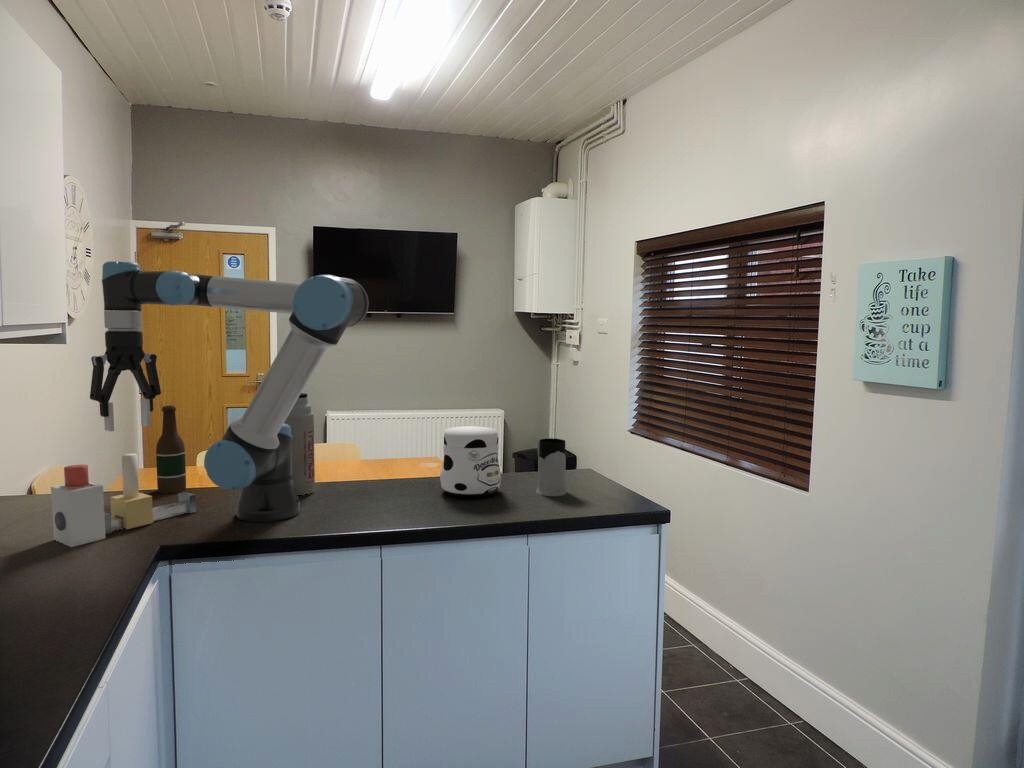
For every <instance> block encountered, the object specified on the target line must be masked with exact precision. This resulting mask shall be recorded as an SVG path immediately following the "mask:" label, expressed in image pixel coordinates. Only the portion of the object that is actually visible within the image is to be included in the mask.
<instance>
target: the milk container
mask: <svg viewBox="0 0 1024 768" xmlns="http://www.w3.org/2000/svg"><path fill="white" fill-rule="evenodd" d="M498 431H499V430H498V429H496V428H493V427H487V426H479V425H478V426H477V425H474V426H473V425H472V426H469V425H468V426H461V425H460V426H454V427H453V426H452V427H449V428H446V429H444V433H443V444H442V445H443V447H442V448H443V459H442V460H443V461H442V466H441V468H440V474H439V479H440V485H441V486H440V487H441V489H442V490H443V491H444V492H445V493H447V494H449V495H453V496H456V497H463V498H467V497H468V498H474V497H476V498H477V497H484V496H488V495H489V496H490V495H491V494H494V493H496V492H497V491H498V490H499V489H500V487H501V482H502V472H501V467H500V464H499V432H498Z"/></svg>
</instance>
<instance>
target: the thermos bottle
mask: <svg viewBox="0 0 1024 768" xmlns="http://www.w3.org/2000/svg"><path fill="white" fill-rule="evenodd" d="M314 417H315V414H314V412H312V405H311V404H310V403H309V401H308V393H303V392H301V394H300V396H299V397H298V399H297V401H296V403H295V404H294V406H293V408H292V410H291V411H290V413H289V415H288V417H287V418H286V420H285V422H284V424H288V425H289V426H290V428H291V435H292V481H293V485H294V487H295V490H296V493H297V495H302V496H306V495H305V494H308V495H311V494H310V493H312V494H314V493H315V492H316V483H315V482H316V480H315V474H316V473H315V470H316V469H315V468H316V467H315V419H314ZM313 492H314V493H313Z"/></svg>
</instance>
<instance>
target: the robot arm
mask: <svg viewBox="0 0 1024 768" xmlns="http://www.w3.org/2000/svg"><path fill="white" fill-rule="evenodd" d="M101 277H102V279H101V285H102V293H103V295H102V296H103V306H104V307H103V315H104V316H103V317H104V318H103V319H104V328H105V329H107V330H105V332H104V338H105V339H104V342H105V348H106V349H105V352H104V354H102V355H93V356H91V358H90V359H91V362H92V374H91V382H90V383H91V384H90V391H89V399H90V400H92V401H96V402H98V403H99V415H100V416H101V417H102V418H103V420H104V421H103V423H104V430H105V431H107V432H114V431H115V421H114V420H115V418H114V416H115V415H114V402H111V401H110V400H111V397H112V394H113V391H114V389H115V386H116V383H117V381H118V378H119V376H120V375H121V373H122V372H125V371H130V373H132V375H133V377H134V379H135V381H136V384H137V386H138V388H139V389H140V391H141V394H142V396H143V397H142V398H139V400H140V402H139V403H140V423H141V426H143V427H151V412H153V411H154V399H155V398H156V397H157V396H160V395H161V394H162V389H161V385H160V381H159V380H160V379H159V374H158V368H157V358H158V357H157V355H156V354H154V353H145V351H144V350H143V348H144V347H143V346H144V340H143V339H144V338H143V337H144V335H143V332H142V331H141V330H140V329H142V328H143V315H142V313H143V312H142V305H163V306H164V305H169V306H201V307H210V308H213V307H214V308H222V309H223V308H225V309H235V310H246V311H255V312H256V311H257V312H267V313H278V314H279V313H280V314H287V315H288V314H290V316H289V317H288V322H289V324H290V331H289V333H288V335H287V336H286V338H285V340H284V341H283V344H282V345H281V347H280V349H279V350H278V352H277V354H276V356H275V358H274V359H273V362H272V363H271V365H270V366H269V369H268V371H267V372H266V374H265V376H264V377H263V379H262V381H261V383H260V384H259V386H258V388H257V390H256V392H255V393H254V396H253V397H252V398H251V400H250V403H249V404H248V406H247V408H246V409H245V411H244V414H243V415H242V417H240V418H236V419H234V420H232V421H231V422H230V423H229V425H228V427H227V429H226V431H225V432H224V434H223V436H222V438H221V439H220V440H218V441H215V442H214V443H213V444H212V445H210V446H209V448H208V449H207V450H206V452H205V455H204V460H203V466H204V469H205V471H206V475H207V477H208V478H209V479H210V481H211V482H212V484H214V485H215V486H217V487H218V488H220V489H222V490H226V491H238V490H240V489H241V492H240V494H239V499H238V501H237V504H236V514H235V515H236V518H238V519H239V520H241V521H242V520H243V521H245V522H255V523H259V522H260V523H264V522H275V521H280V520H286V519H288V518H289V519H290V518H292V517H294V516H297V515H298V514H300V512H301V501H300V500H299V496H297V493H296V490H295V487H294V485H293V481H292V435H291V428H290V426H289V425H288V424H284V422H285V420H286V418H287V417H288V415H289V413H290V411H291V410H292V408H293V406H294V404H295V403H296V401H297V399H298V397H299V396H300V394H301V393H303V390H304V389H305V386H306V385H307V383H308V381H309V380H310V378H311V377H312V374H313V373H314V371H315V370H316V367H317V366H318V364H319V363H320V361H321V359H322V357H323V355H324V354H325V352H326V351H327V348H332V347H334V346H337V345H338V343H339V342H340V340H341V338H342V336H343V335H344V333H345V331H346V329H347V328H352V327H354V326H356V325H358V324H359V323H361V322H362V321H363V320H364V318H365V317H366V315H367V313H368V310H369V306H370V305H369V304H370V302H369V301H370V300H369V296H368V294H367V291H366V290H365V288H364V287H363V286H362V284H360V283H359V282H358V281H356V280H354V279H352V278H348V277H339V276H336V275H333V274H318V275H314V276H311V277H309V278H306V279H305V280H304V281H303V282H292V281H278V280H267V279H255V278H242V277H230V276H219V275H217V276H216V275H206V274H200V273H199V274H195V273H194V274H193V273H187V272H185V271H177V270H167V271H165V270H164V271H163V270H160V271H159V270H154V271H153V270H151V271H147V270H146V271H145V270H141V266H140V264H139V263H137V262H134V261H132V262H131V261H117V260H116V261H115V260H114V261H113V260H112V261H110V260H109V261H106V262H104V263H103V264H102V276H101ZM106 361H107V363H108V364H109V366H108V369H107V375H106V377H105V381H104V374H105V364H106ZM142 361H143V362H144V364H145V365H144V366H145V369H146V375H147V376H145V373H144V368H143V367H142V365H141V363H142ZM146 377H147V378H146ZM103 382H104V383H103Z"/></svg>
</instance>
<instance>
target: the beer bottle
mask: <svg viewBox="0 0 1024 768" xmlns="http://www.w3.org/2000/svg"><path fill="white" fill-rule="evenodd" d="M161 411H162V431H161V436H159V439H158V440H157V443H156V447H155V454H156V455H155V458H156V461H155V462H156V482H157V492H158V494H164V495H165V494H166V495H168V494H178V493H180V492H186V489H187V473H186V472H187V468H186V448H185V443H184V440H183V438H182V437H181V436H180V435H179V433H178V428H177V417H176V411H177V408H176V406H175V405H164V406H162V409H161Z"/></svg>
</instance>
